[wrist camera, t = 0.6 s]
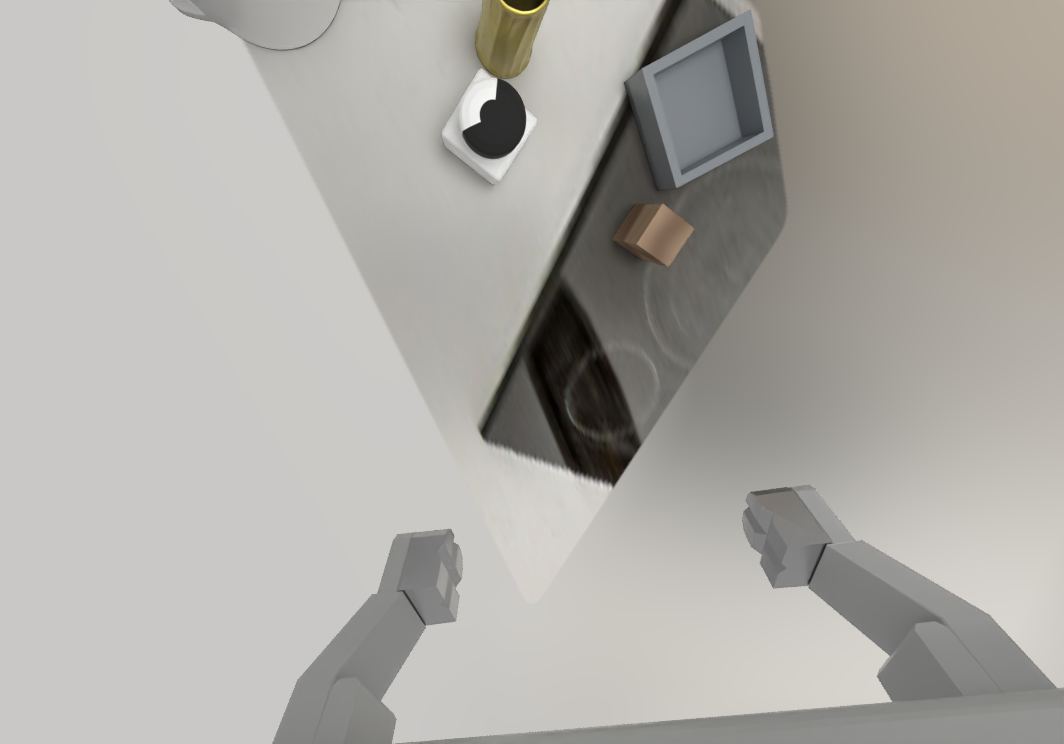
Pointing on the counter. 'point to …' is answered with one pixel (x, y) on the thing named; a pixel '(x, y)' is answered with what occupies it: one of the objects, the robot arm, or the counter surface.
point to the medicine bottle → (488, 126)
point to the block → (653, 233)
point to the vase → (508, 34)
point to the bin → (701, 103)
